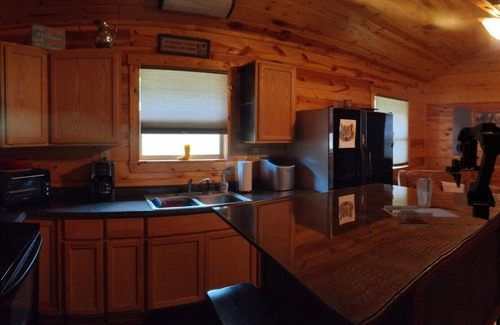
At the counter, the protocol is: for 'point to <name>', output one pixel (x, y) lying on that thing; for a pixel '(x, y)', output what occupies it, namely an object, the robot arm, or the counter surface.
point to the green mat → (413, 224)
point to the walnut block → (409, 215)
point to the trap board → (420, 211)
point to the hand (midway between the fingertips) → (469, 187)
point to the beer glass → (424, 191)
